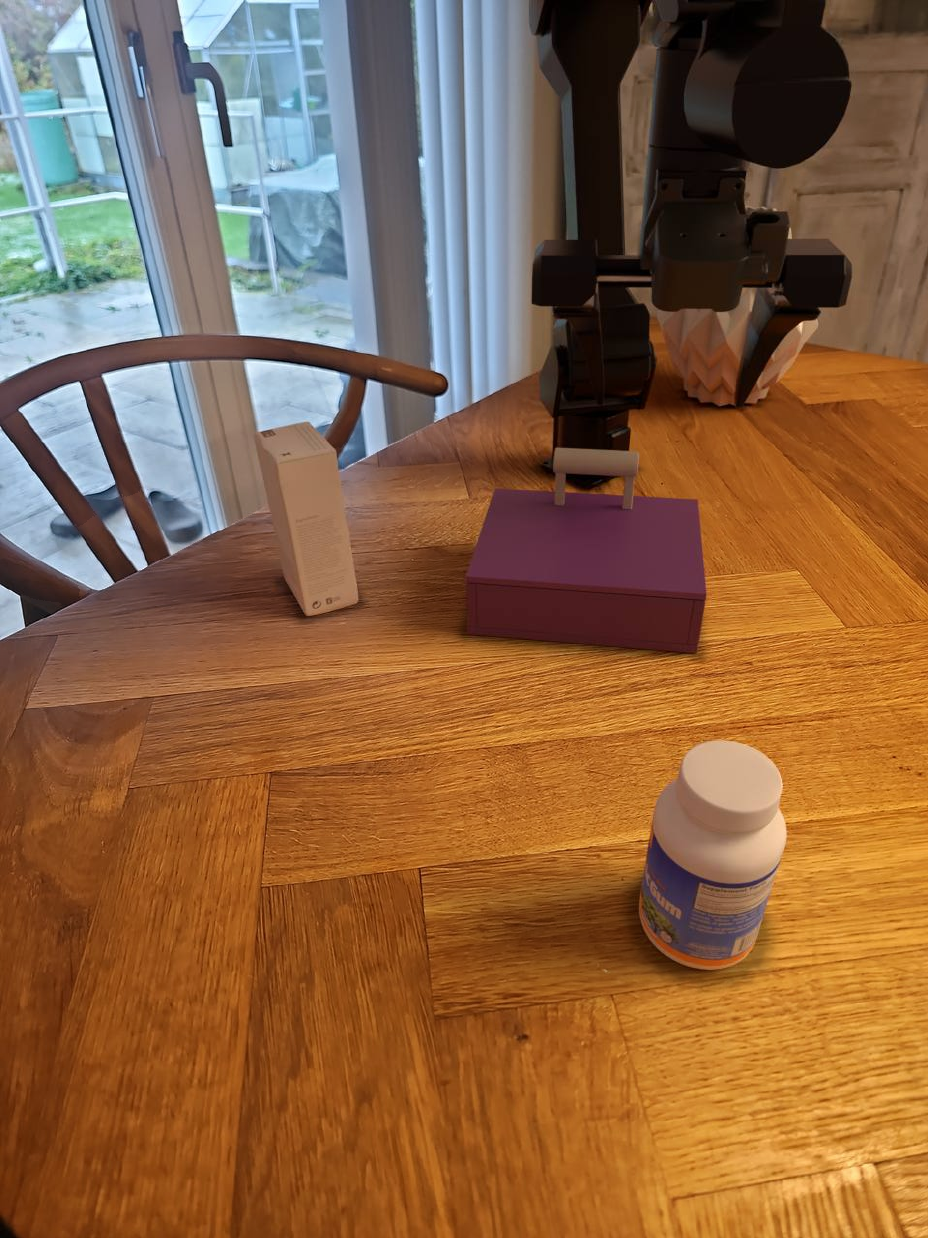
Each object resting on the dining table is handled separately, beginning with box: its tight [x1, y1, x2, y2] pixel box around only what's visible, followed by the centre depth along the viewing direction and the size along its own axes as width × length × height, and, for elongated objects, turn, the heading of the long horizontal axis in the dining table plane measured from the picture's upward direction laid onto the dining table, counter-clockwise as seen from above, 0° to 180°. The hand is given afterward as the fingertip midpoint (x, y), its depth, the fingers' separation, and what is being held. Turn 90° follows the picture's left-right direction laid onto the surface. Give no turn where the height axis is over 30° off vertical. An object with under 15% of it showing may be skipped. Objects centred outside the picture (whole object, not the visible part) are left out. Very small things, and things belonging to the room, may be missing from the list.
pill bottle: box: [638, 739, 788, 971], centre depth 37 cm, size 5×5×10 cm
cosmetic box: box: [253, 421, 359, 617], centre depth 60 cm, size 6×4×12 cm
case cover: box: [465, 448, 708, 601], centre depth 58 cm, size 13×15×5 cm
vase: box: [655, 205, 819, 407], centre depth 88 cm, size 16×16×18 cm
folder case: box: [465, 581, 706, 654], centre depth 61 cm, size 12×15×4 cm
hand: (668, 404), depth 58 cm, fingers open, 9 cm apart
